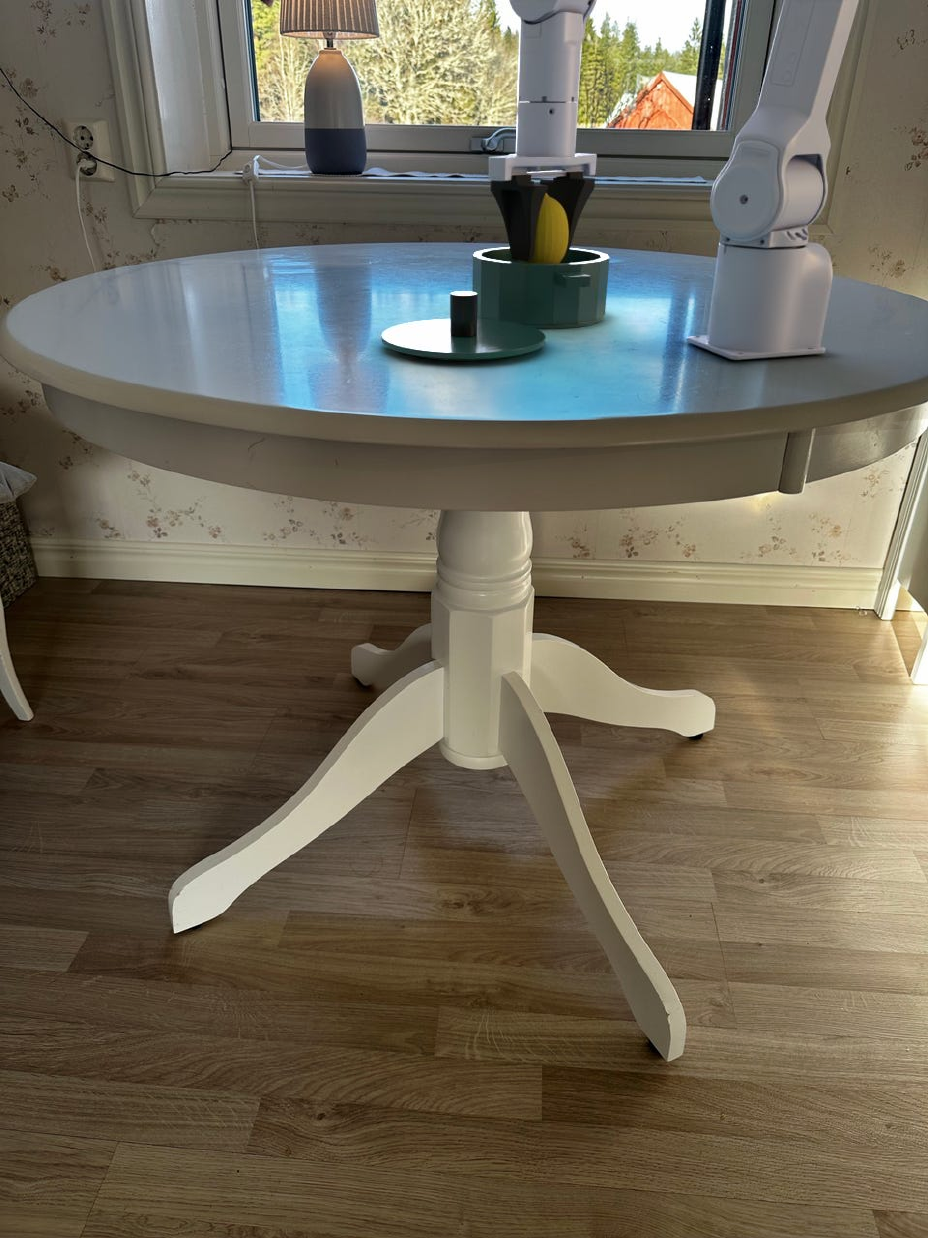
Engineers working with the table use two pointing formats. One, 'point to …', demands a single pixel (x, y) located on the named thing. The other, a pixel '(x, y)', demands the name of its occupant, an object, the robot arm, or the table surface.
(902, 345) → the table surface
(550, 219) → the lemon
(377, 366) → the table surface
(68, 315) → the table surface
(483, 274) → the pot
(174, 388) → the table surface
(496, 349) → the lid
